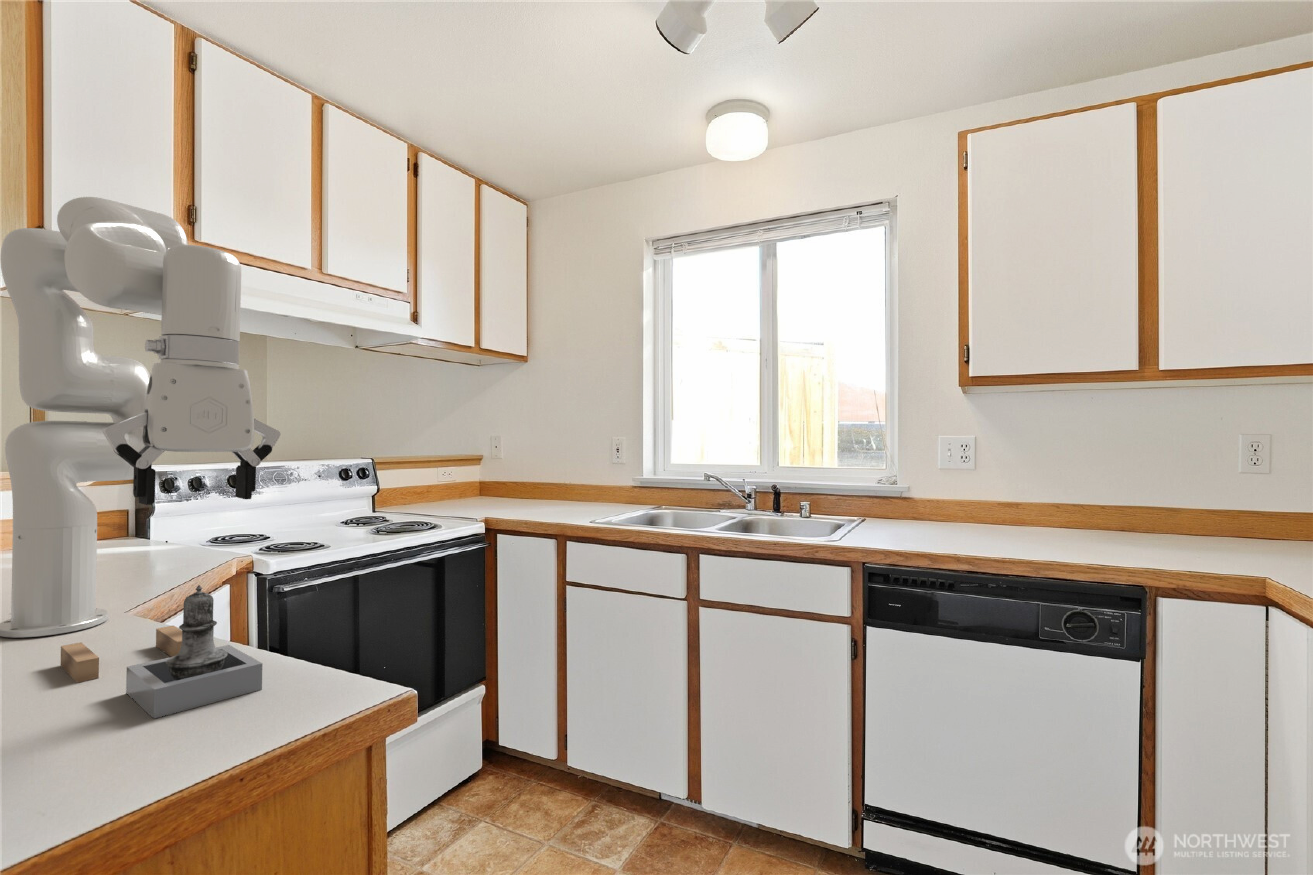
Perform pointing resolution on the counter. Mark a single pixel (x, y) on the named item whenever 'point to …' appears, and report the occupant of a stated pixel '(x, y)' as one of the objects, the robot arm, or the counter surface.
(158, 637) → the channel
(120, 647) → the counter surface
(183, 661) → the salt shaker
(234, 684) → the square tray
